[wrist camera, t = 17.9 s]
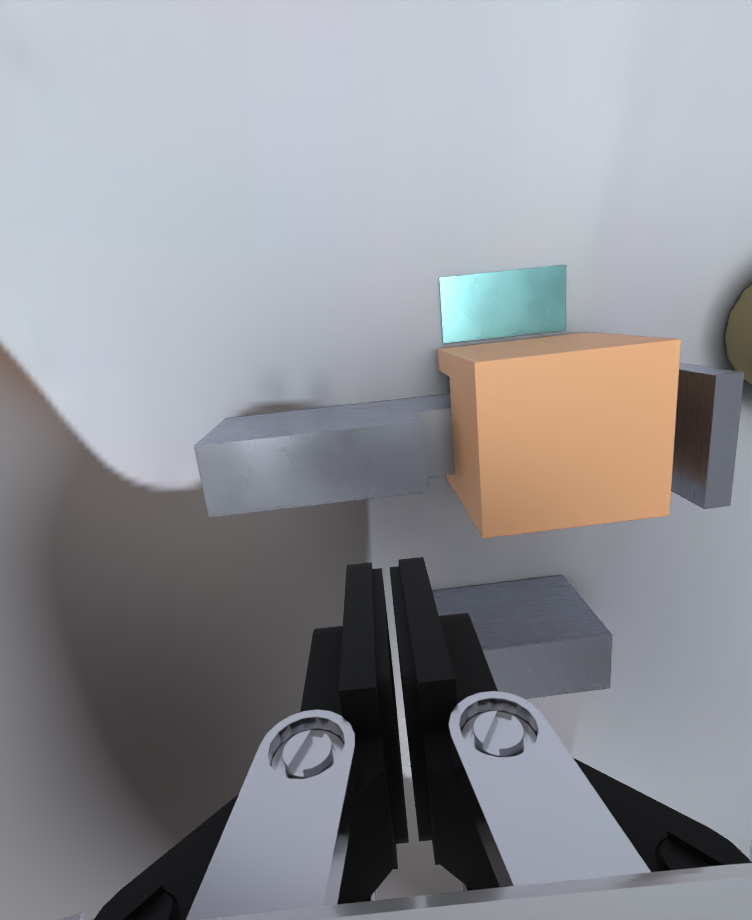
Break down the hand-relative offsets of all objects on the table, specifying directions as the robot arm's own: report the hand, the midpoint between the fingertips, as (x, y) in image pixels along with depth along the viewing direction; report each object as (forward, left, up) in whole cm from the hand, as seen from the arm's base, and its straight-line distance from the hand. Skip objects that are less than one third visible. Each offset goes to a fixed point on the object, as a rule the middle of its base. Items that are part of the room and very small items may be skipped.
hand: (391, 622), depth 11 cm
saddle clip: (+1, -7, -14) cm, 16 cm away
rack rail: (+3, -3, -15) cm, 16 cm away
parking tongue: (-10, -6, -15) cm, 20 cm away
